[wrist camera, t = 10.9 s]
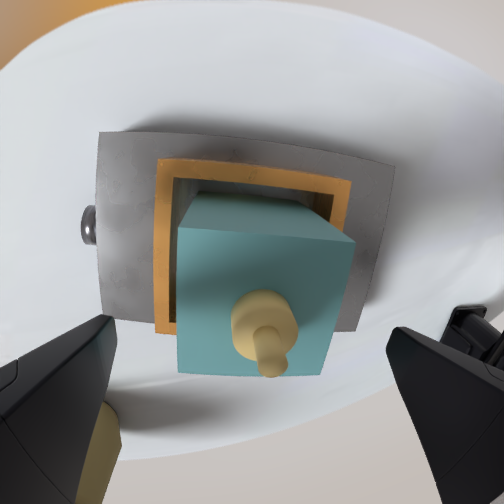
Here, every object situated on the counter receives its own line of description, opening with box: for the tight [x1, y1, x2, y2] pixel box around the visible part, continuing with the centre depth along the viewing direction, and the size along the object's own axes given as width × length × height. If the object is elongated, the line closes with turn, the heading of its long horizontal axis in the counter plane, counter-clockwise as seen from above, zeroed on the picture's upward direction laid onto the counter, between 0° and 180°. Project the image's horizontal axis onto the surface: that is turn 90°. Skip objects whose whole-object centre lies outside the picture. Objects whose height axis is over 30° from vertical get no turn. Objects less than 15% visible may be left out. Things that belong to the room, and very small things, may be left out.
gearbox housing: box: [81, 132, 395, 335], centre depth 17 cm, size 19×12×6 cm, turn 83°
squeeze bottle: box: [75, 401, 122, 504], centre depth 16 cm, size 8×8×18 cm
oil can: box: [176, 191, 356, 378], centre depth 12 cm, size 6×6×11 cm
